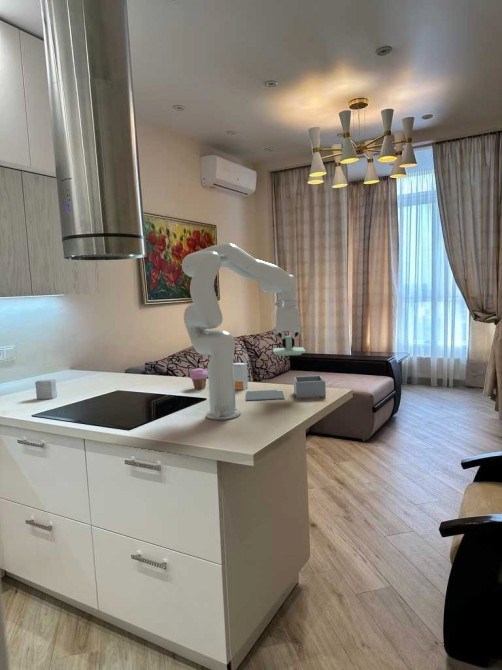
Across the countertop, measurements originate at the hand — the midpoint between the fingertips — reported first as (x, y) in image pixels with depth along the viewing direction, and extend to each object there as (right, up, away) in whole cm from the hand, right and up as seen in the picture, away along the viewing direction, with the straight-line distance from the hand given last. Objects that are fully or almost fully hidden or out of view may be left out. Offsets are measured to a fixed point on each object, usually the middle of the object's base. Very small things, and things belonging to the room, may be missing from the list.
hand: (288, 347), depth 187 cm
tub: (+9, -20, +1) cm, 22 cm away
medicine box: (-113, -25, +22) cm, 118 cm away
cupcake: (-41, -21, +26) cm, 53 cm away
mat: (-10, -21, +4) cm, 24 cm away
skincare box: (-21, -20, +21) cm, 36 cm away
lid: (0, -2, 0) cm, 2 cm away
